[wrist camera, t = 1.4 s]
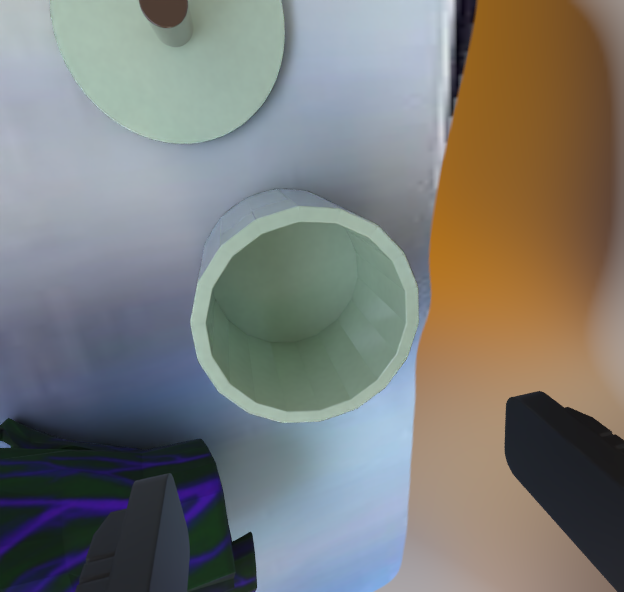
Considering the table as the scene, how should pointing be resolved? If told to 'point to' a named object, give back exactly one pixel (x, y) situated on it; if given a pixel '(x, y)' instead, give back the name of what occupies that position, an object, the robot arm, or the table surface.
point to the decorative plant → (105, 509)
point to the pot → (301, 307)
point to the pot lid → (173, 61)
